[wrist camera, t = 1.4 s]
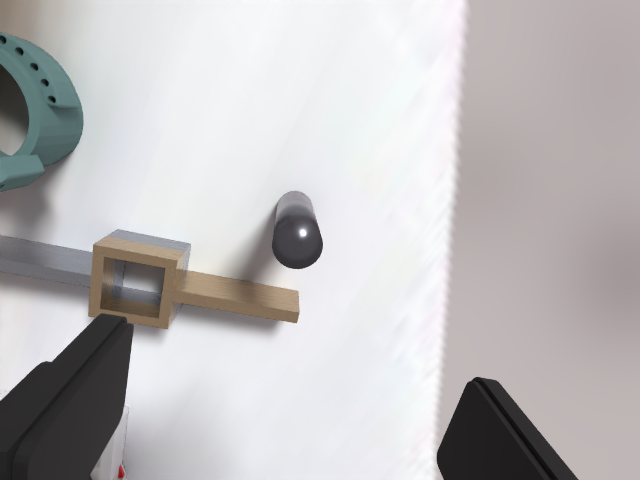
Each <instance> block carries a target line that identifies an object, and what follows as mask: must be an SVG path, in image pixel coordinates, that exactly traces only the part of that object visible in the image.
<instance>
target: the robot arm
mask: <svg viewBox="0 0 640 480" xmlns="http://www.w3.org/2000/svg"><path fill="white" fill-rule="evenodd" d="M132 337H133V324H129V323H127V318H126V317H123V316H117V315H111V314H105V313H101V314H100V315H98V316H97V317H96V318H95V319H94V320H93V321H92V322H91V323H90V324H89V325H88V326H87V327H86V328H85V329H84V330H83V331H82V332H81V333H80V334H79V335H78V336H77V337H76V338H75V339H74V340H73V341H72V342H71V343H70V344H69V345H68V346H67V347H66V348H65V349H64V350H63V351H62V352H61V353H60V354H59V355H58V356H57V357H56V358H55V359H54V360H53V361H52V362H47V361H46V362H42V363H40V364H39V365H38V366H36V367H35V368H34V369H33V370H32V371H31V372H30V373H29V374H28V375H27V376H26V377H25V378H24V379H23V380H22V381H21V382H19V383H18V384H17V385H16V386H15V387H14V388H13V389H12V390H11V391H10V392H9V393H8V394H7V395H6V396H5V397H4V398H3V399H2V400H1V401H0V480H87V479H88V478H89V476H90V474H91V472H92V471H93V469H94V467H95V465H96V464H97V462H98V460H99V458H100V457H101V455H102V453H103V451H104V450H105V448H106V446H107V444H108V443H109V441H110V439H111V437H112V435H113V434H114V432H115V430H116V428H117V427H118V425H119V423H120V420H121V418H122V415H123V410H124V403H125V395H126V387H127V379H128V370H129V362H130V354H131V345H132ZM437 464H438V467H439V469H440V472H441V474H442V476H443V479H444V480H578V479H577V477H576V476H575V475H574V474H573V473H572V471H571V470H570V469H569V468H568V466H567V465H566V464H565V463H564V462H563V460H562V459H561V458H560V457H559V455H558V454H557V453H556V452H555V450H554V449H553V448H552V447H551V446H550V444H549V443H548V442H547V441H546V439H545V438H544V437H543V436H542V435H541V433H540V432H539V431H538V430H537V428H536V427H535V426H534V425H533V424H532V422H531V421H530V420H529V419H528V417H527V416H526V415H525V414H524V413H523V411H522V410H521V409H520V408H519V407H518V405H517V404H516V403H515V402H514V400H513V399H512V398H511V397H510V395H509V394H508V393H507V392H506V390H505V389H504V388H503V387H502V386H501V384H500V383H499V382H497V381H496V380H492V379H485V378H480V377H476V378H474V379H473V380H472V381H470V382H468V383H467V385H466V387H465V389H464V391H463V393H462V396H461V398H460V400H459V403H458V405H457V408H456V410H455V412H454V414H453V417H452V419H451V422H450V424H449V426H448V428H447V431H446V433H445V435H444V438H443V440H442V442H441V445H440V447H439V449H438V452H437Z"/></svg>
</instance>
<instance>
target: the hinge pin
mask: <svg viewBox="0 0 640 480" xmlns="http://www.w3.org/2000/svg"><path fill="white" fill-rule="evenodd" d="M322 248H323V241H322V237H321V234H320V230H319V227H318V223H317V220H316V217H315V213H314V210H313V206H312V203H311V201H310V199H309V198H308V197H307V196H306V195H305V194H304V193H302V192H298V191H291V192H288V193H286V194H284V195H283V196H282V197H281V198H280V200H279V202H278V205H277V213H276V220H275V227H274V234H273V242H272V249H273V253H274V255H275V257H276V259H277V260H278V261H279V262H280V263H281V264H283V265H284V266H286V267H289V268H292V269H302V268H306V267H308V266H310V265H312V264H313V263H315V262H316V261H317V259H318V258H319V257H320V255H321V252H322Z"/></svg>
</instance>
